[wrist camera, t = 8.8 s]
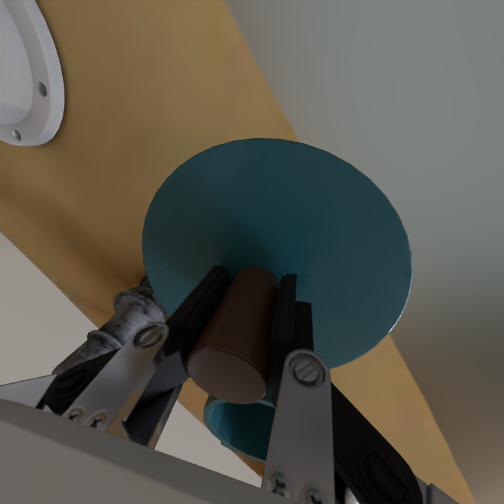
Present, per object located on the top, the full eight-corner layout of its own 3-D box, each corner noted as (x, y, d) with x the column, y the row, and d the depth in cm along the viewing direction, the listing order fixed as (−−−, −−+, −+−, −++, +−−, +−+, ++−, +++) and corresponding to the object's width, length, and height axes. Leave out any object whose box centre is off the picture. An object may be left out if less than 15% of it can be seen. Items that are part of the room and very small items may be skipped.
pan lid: (137, 291, 15) (42, 366, 10) (199, 70, 8) (-19, -116, 3) (293, 384, 15) (287, 507, 10) (481, 251, 8) (807, 419, 3)
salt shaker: (144, 263, 21) (-6, 364, 11) (189, 290, 22) (86, 415, 11) (134, 295, 24) (8, 401, 14) (174, 319, 25) (80, 440, 14)
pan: (202, 382, 30) (181, 430, 25) (262, 311, 21) (249, 363, 15) (275, 424, 30) (270, 480, 25) (366, 372, 21) (387, 443, 16)
